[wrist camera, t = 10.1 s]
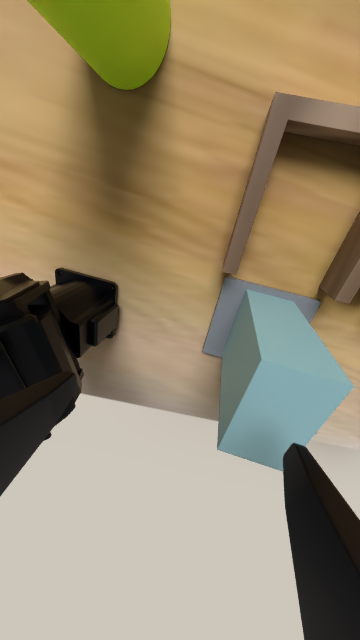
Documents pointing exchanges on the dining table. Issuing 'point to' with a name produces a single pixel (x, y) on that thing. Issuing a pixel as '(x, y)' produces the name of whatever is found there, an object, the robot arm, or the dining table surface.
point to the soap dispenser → (113, 35)
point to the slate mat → (231, 303)
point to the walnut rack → (284, 116)
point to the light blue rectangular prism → (275, 381)
